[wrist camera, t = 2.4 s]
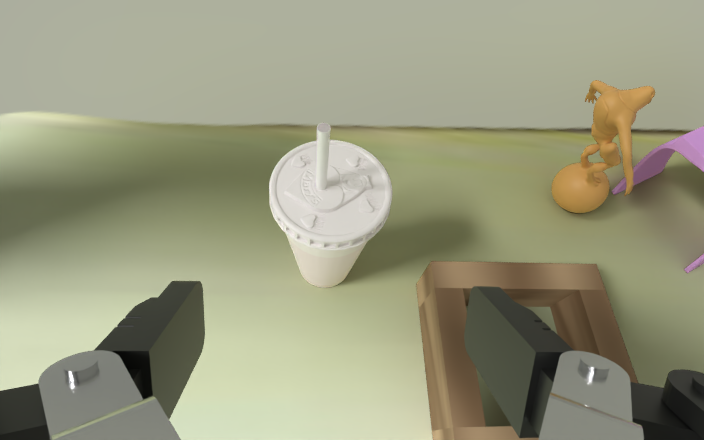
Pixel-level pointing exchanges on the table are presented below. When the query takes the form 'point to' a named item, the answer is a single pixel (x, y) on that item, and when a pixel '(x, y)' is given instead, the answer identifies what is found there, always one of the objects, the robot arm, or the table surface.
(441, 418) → the holder
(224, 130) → the table surface
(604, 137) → the figurine
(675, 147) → the toy chair
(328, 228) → the smoothie
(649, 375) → the table surface
